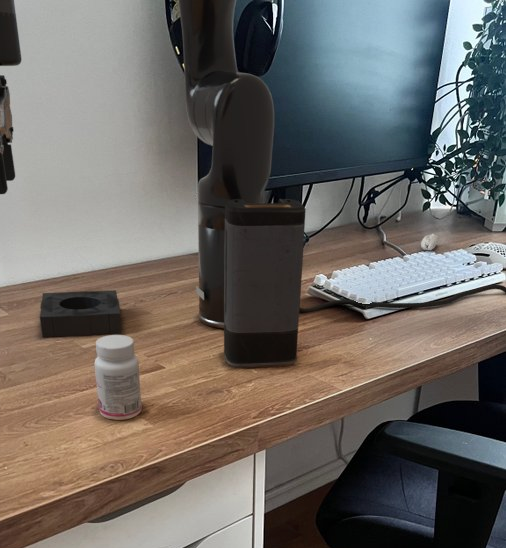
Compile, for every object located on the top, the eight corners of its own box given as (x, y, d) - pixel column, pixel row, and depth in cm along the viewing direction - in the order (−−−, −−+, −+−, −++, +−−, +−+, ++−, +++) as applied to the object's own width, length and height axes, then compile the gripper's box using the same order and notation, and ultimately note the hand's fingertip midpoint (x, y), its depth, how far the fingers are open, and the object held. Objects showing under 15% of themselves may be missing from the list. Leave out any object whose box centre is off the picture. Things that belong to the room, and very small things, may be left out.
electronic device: (288, 349, 95) (297, 198, 85) (298, 366, 90) (309, 207, 80) (222, 352, 94) (223, 198, 84) (228, 369, 89) (230, 208, 79)
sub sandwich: (439, 245, 150) (441, 232, 149) (432, 253, 144) (434, 240, 143) (424, 243, 151) (426, 230, 150) (417, 251, 145) (419, 238, 144)
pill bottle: (101, 402, 80) (94, 333, 75) (142, 401, 80) (138, 332, 76) (96, 421, 76) (89, 349, 71) (140, 420, 76) (136, 349, 72)
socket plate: (118, 308, 108) (116, 289, 107) (122, 333, 99) (121, 313, 97) (44, 311, 106) (42, 292, 105) (41, 337, 97) (38, 317, 95)
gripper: (7, 6, 61) (32, 198, 69) (21, 12, 73) (41, 176, 81) (-84, 3, 59) (-47, 199, 68) (-54, 10, 71) (-26, 176, 80)
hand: (1, 186), depth 74 cm, fingers open, 8 cm apart
